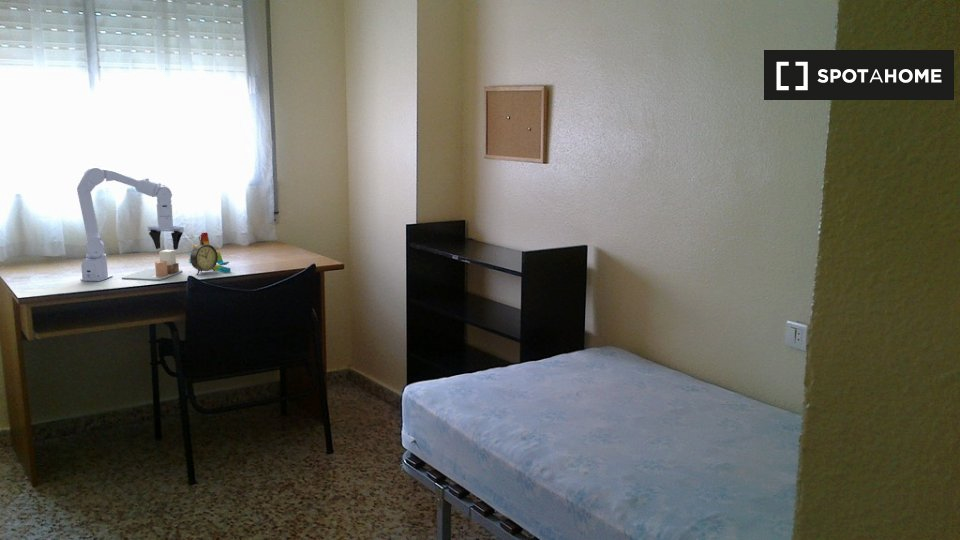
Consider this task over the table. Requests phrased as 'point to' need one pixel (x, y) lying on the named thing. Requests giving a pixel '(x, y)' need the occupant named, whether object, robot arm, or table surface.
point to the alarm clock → (203, 257)
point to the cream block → (168, 256)
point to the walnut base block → (173, 268)
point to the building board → (148, 275)
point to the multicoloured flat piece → (219, 261)
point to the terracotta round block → (161, 269)
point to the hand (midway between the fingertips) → (166, 248)
